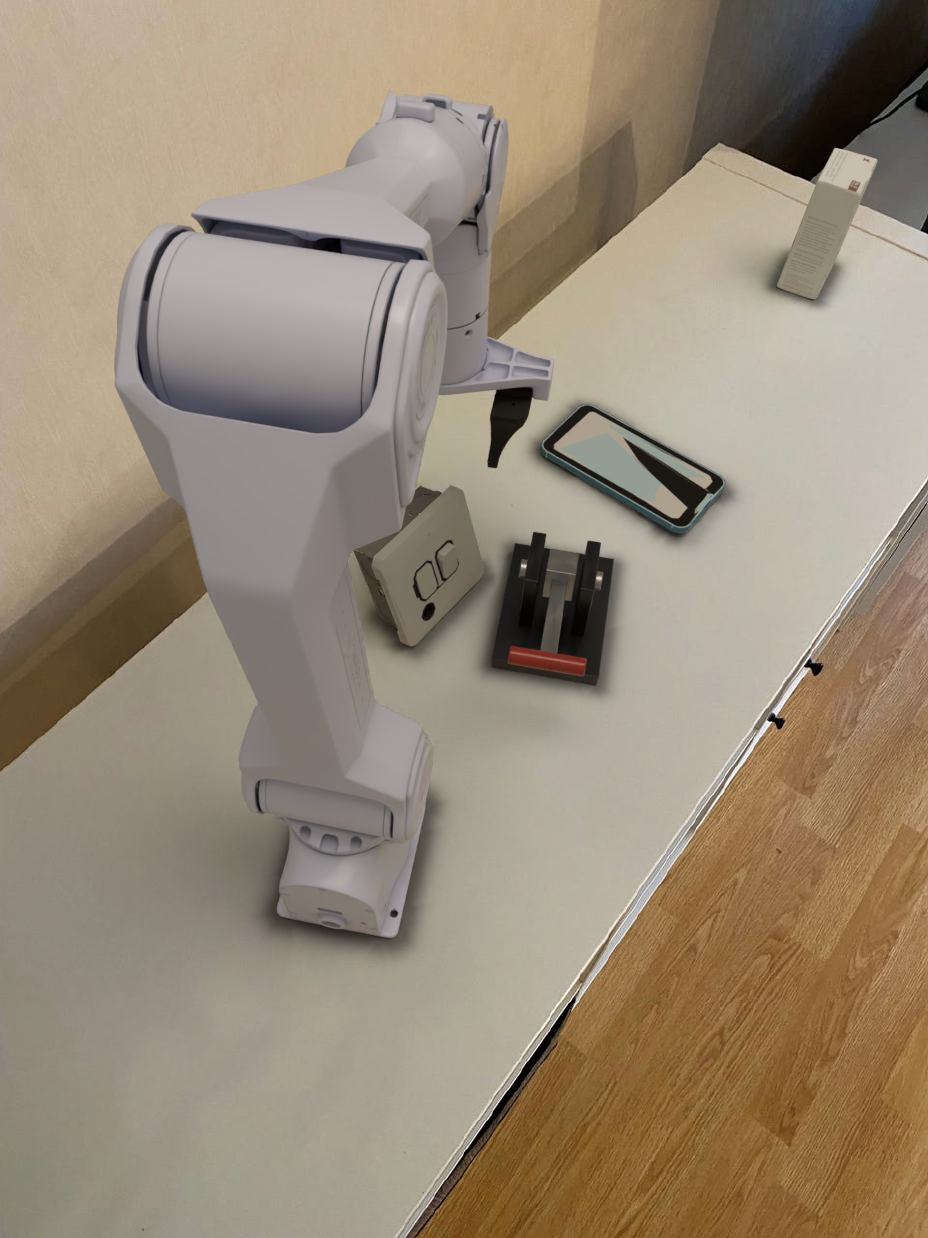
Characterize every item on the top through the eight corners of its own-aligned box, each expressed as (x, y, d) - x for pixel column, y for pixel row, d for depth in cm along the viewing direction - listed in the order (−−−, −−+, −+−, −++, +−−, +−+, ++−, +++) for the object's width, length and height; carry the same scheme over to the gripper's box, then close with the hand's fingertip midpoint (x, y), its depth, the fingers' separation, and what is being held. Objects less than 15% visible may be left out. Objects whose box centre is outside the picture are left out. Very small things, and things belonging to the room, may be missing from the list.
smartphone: (585, 399, 87) (730, 479, 81) (584, 407, 87) (728, 487, 82) (535, 446, 83) (683, 533, 78) (535, 454, 84) (681, 540, 79)
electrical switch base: (596, 685, 72) (610, 634, 66) (490, 667, 73) (495, 614, 66) (611, 567, 78) (626, 510, 72) (514, 551, 78) (519, 493, 72)
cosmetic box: (792, 254, 99) (832, 142, 89) (835, 268, 98) (880, 156, 88) (774, 289, 96) (813, 177, 86) (817, 303, 95) (862, 192, 85)
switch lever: (581, 687, 63) (587, 659, 61) (505, 674, 63) (509, 646, 62) (593, 583, 72) (598, 556, 71) (527, 572, 73) (531, 545, 71)
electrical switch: (410, 653, 73) (396, 577, 66) (360, 620, 75) (341, 543, 68) (486, 575, 77) (481, 495, 70) (437, 546, 79) (427, 465, 72)
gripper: (567, 272, 61) (548, 425, 72) (344, 242, 62) (359, 397, 74) (552, 348, 57) (534, 496, 69) (315, 315, 58) (336, 466, 70)
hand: (442, 450), depth 71 cm, fingers open, 7 cm apart
